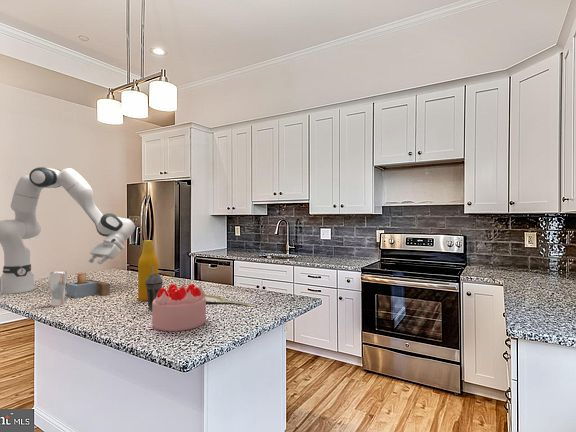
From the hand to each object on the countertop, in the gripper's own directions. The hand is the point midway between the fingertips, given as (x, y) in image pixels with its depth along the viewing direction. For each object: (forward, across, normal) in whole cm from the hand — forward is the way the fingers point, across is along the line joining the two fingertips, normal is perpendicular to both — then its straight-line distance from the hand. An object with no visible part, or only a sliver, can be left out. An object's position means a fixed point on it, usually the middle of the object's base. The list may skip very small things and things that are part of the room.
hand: (94, 262), depth 184 cm
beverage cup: (+12, +54, +11) cm, 56 cm away
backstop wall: (+11, +2, +11) cm, 16 cm away
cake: (+17, +80, +6) cm, 82 cm away
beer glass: (+27, +12, -4) cm, 30 cm away
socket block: (+16, 0, +7) cm, 17 cm away
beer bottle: (+6, +36, +17) cm, 40 cm away
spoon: (-6, +72, +29) cm, 78 cm away
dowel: (+15, 0, +6) cm, 16 cm away
